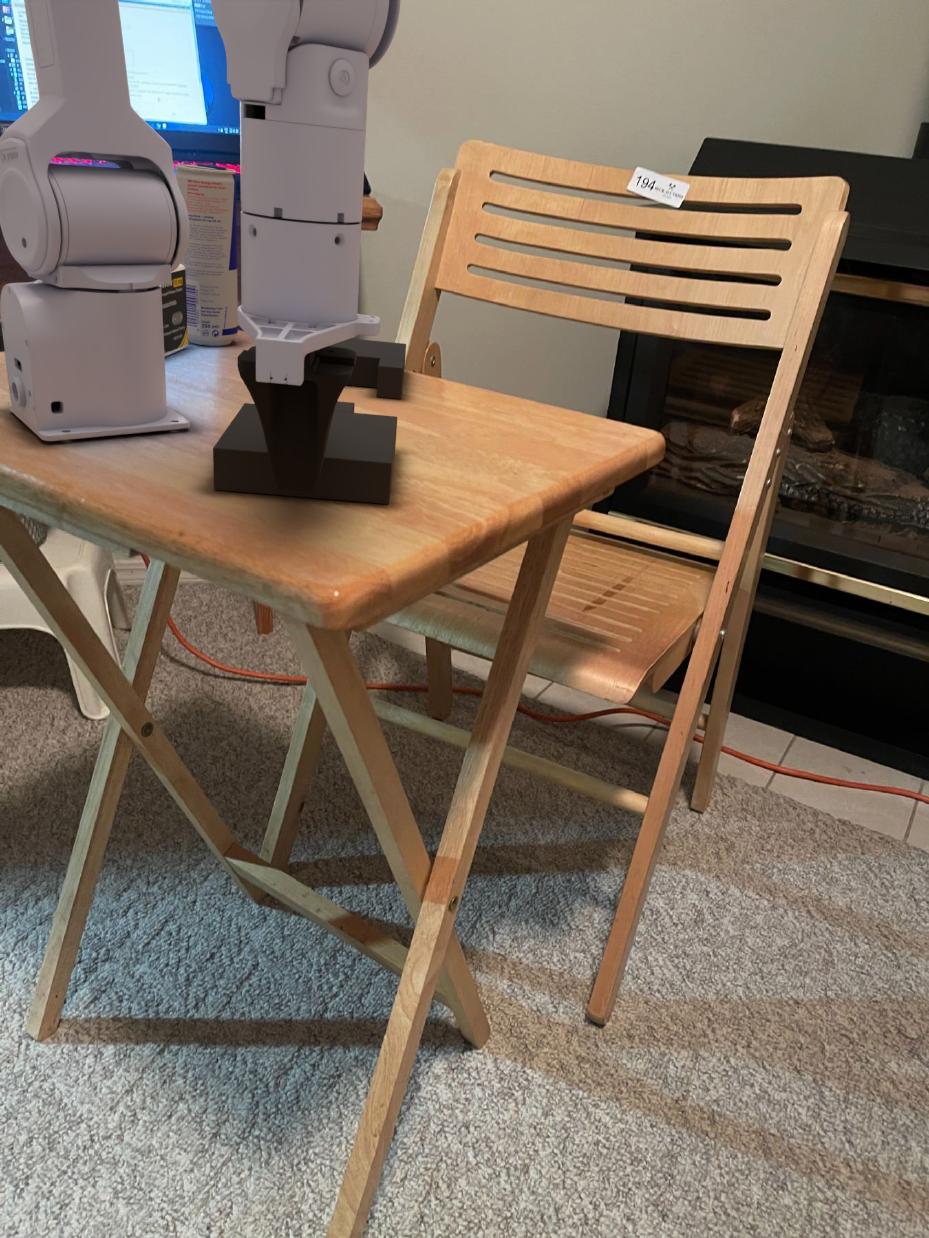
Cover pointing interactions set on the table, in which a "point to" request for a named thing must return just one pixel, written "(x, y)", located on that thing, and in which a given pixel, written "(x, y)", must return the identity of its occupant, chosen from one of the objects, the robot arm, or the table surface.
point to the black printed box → (175, 312)
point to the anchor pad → (377, 366)
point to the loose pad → (348, 469)
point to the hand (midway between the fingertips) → (296, 486)
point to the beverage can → (210, 253)
